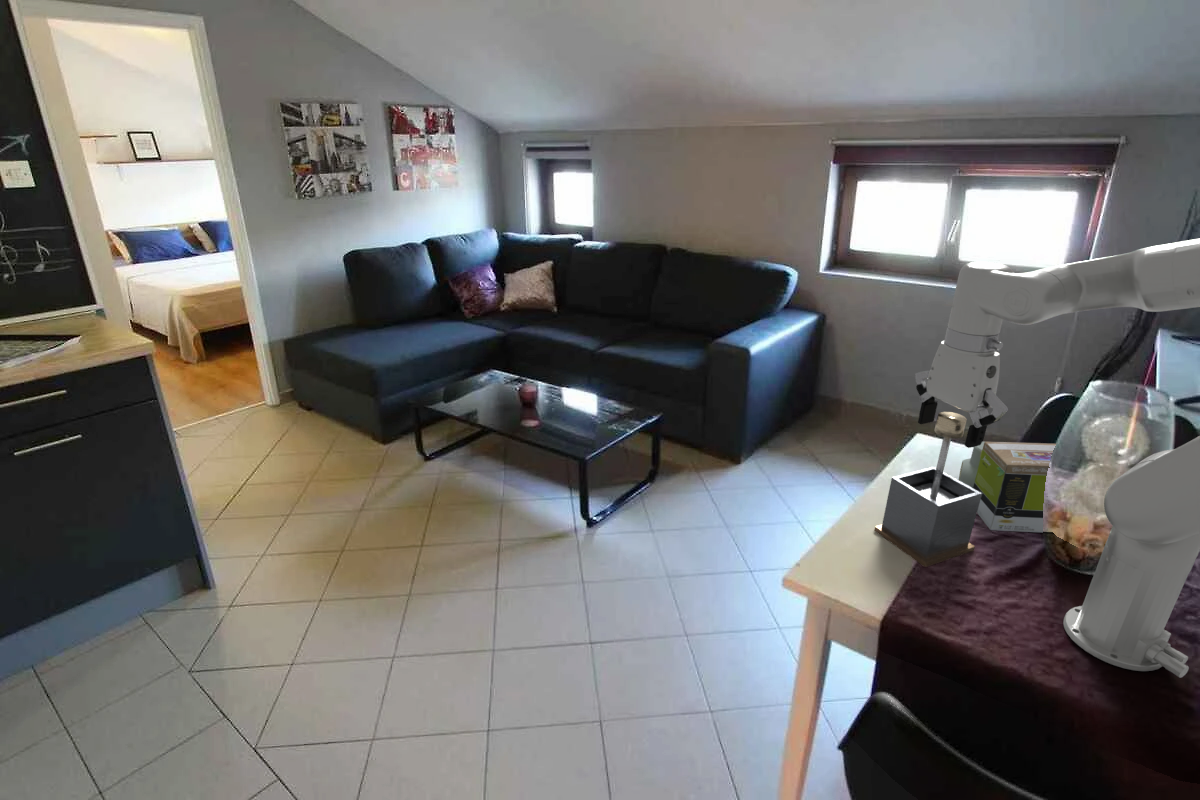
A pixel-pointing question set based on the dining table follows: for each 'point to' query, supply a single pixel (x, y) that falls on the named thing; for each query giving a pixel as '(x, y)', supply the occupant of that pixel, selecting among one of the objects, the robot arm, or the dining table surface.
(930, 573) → the dining table surface
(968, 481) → the air freshener
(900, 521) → the press housing
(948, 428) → the plunger
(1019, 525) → the tea box
